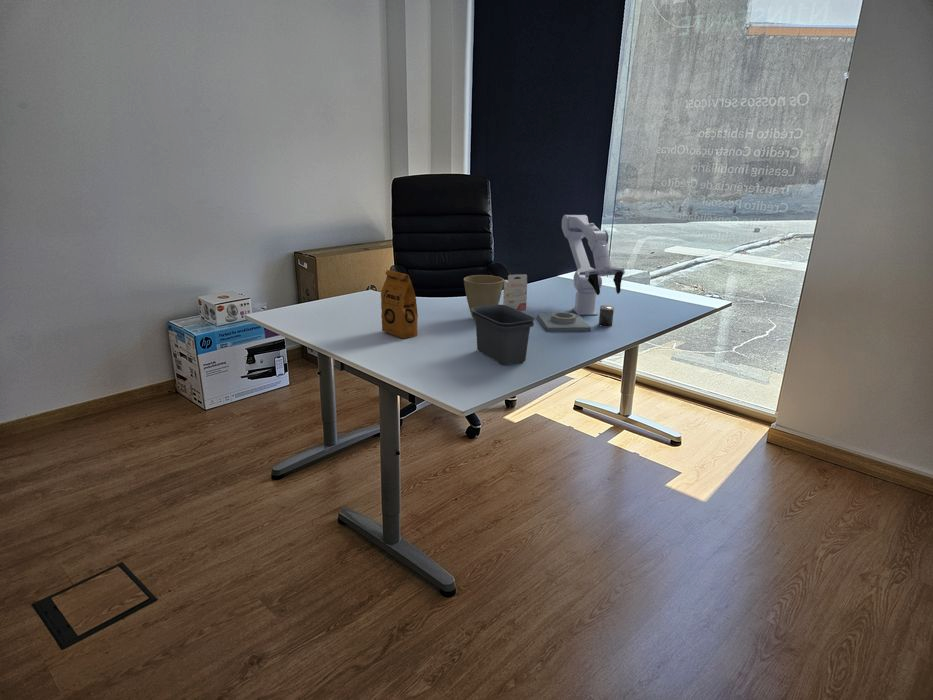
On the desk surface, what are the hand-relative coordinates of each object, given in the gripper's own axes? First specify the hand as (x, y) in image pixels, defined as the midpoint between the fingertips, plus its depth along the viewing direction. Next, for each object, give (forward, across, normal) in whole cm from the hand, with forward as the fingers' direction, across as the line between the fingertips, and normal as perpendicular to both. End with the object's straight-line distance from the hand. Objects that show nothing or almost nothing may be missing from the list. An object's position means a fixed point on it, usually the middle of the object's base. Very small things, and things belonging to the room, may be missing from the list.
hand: (608, 293), depth 220 cm
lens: (+8, 0, +10) cm, 13 cm away
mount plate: (+7, -16, +11) cm, 20 cm away
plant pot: (+1, -46, +15) cm, 48 cm away
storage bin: (+26, -44, -16) cm, 54 cm away
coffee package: (+10, -77, +1) cm, 78 cm away
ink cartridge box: (-8, -30, +28) cm, 42 cm away
